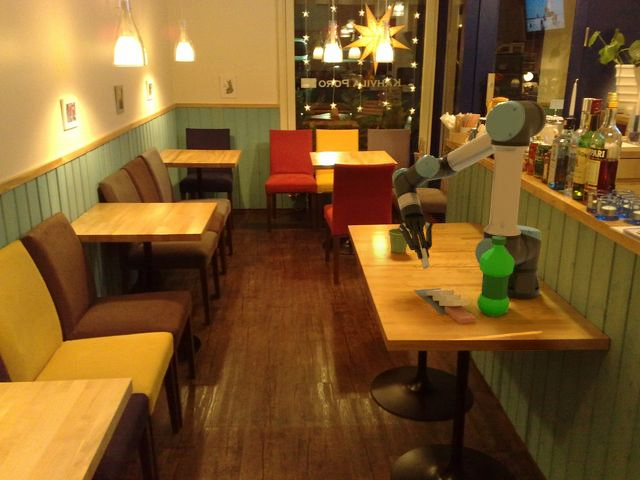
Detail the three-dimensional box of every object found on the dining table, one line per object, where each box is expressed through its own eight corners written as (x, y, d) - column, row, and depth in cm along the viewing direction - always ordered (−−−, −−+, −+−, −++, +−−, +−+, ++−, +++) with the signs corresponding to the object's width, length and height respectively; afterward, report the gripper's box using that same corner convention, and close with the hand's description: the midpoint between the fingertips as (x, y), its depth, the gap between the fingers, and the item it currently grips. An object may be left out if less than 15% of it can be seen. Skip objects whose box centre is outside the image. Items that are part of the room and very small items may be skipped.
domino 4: (444, 305, 190) (459, 318, 181) (459, 304, 191) (475, 317, 182) (444, 310, 191) (459, 323, 181) (458, 309, 192) (474, 322, 183)
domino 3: (438, 300, 194) (453, 300, 184) (453, 299, 195) (468, 299, 186) (439, 305, 194) (454, 306, 184) (453, 304, 195) (468, 304, 186)
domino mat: (413, 291, 207) (413, 290, 207) (439, 289, 210) (440, 288, 210) (441, 317, 187) (441, 315, 187) (470, 314, 190) (471, 312, 189)
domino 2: (432, 295, 199) (446, 295, 189) (446, 294, 200) (460, 294, 190) (432, 300, 198) (446, 300, 189) (446, 299, 200) (461, 299, 190)
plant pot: (411, 255, 247) (412, 234, 245) (387, 254, 248) (389, 234, 245) (408, 248, 256) (409, 228, 254) (385, 247, 257) (387, 228, 254)
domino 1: (426, 290, 203) (439, 290, 193) (440, 289, 204) (453, 289, 195) (426, 295, 203) (440, 295, 193) (440, 294, 204) (454, 294, 194)
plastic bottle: (487, 322, 184) (494, 243, 177) (469, 309, 194) (475, 234, 187) (516, 318, 187) (524, 241, 180) (496, 305, 197) (503, 231, 189)
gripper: (423, 213, 224) (439, 270, 213) (390, 214, 220) (405, 272, 209) (431, 202, 217) (448, 261, 206) (397, 203, 214) (412, 263, 203)
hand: (426, 266), depth 208 cm, fingers closed
